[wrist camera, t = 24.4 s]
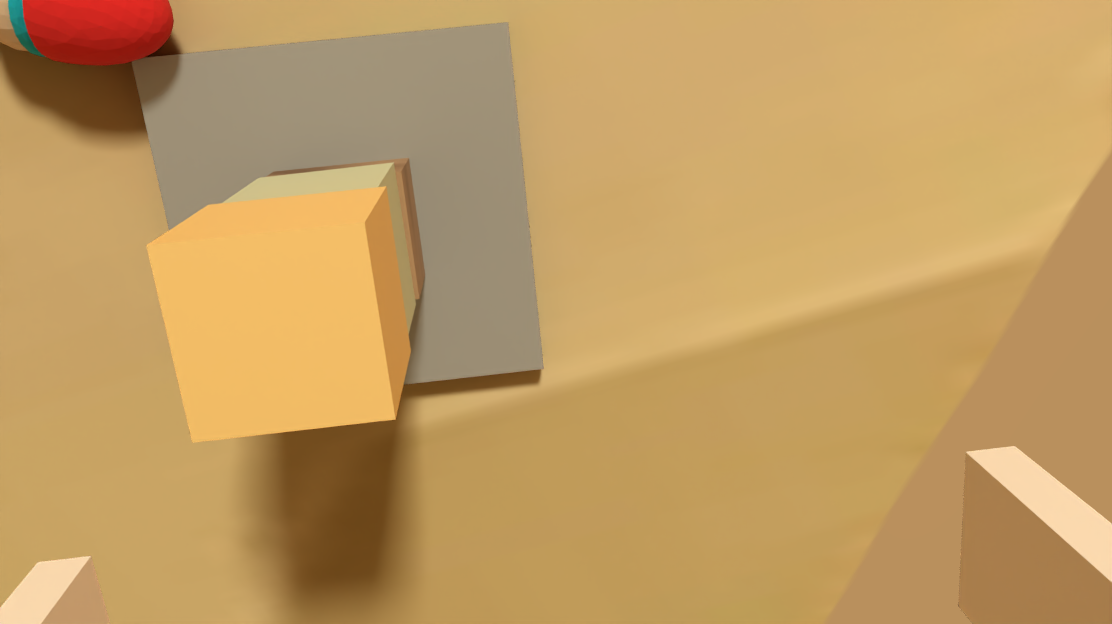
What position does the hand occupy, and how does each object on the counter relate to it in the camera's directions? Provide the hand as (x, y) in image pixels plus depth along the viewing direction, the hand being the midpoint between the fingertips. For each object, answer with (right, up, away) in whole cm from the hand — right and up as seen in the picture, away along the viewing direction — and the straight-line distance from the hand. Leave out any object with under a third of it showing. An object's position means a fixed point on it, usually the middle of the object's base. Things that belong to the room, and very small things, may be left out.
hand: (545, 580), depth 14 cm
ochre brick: (-8, +5, +18) cm, 21 cm away
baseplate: (-9, +8, +29) cm, 31 cm away
